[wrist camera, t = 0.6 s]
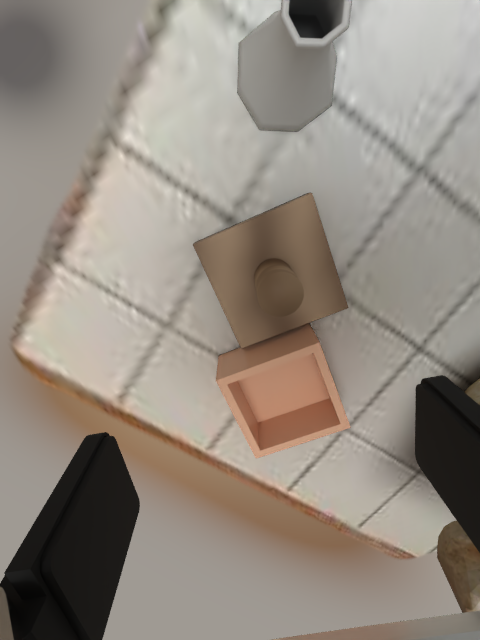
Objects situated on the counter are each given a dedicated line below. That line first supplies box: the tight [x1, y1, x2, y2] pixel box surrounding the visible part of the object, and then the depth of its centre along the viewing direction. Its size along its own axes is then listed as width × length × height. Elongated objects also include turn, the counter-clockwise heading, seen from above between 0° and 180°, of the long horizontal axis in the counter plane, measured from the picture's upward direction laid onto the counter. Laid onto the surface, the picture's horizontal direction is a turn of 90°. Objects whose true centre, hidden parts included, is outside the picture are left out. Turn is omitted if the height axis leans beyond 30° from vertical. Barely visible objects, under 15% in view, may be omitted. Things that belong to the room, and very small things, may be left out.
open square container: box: [216, 323, 351, 458], centre depth 30 cm, size 9×9×4 cm
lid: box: [193, 193, 348, 348], centre depth 26 cm, size 10×10×6 cm
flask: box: [237, 0, 352, 131], centre depth 19 cm, size 7×7×10 cm
